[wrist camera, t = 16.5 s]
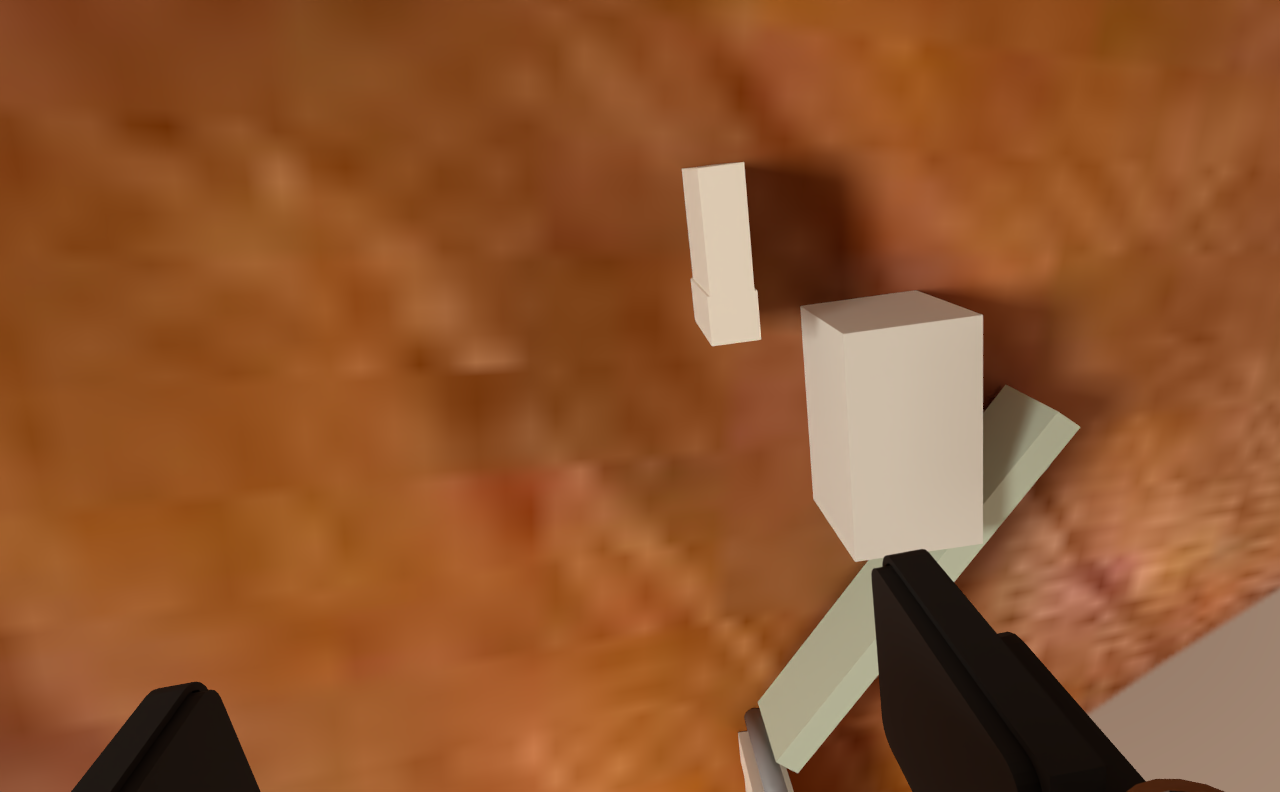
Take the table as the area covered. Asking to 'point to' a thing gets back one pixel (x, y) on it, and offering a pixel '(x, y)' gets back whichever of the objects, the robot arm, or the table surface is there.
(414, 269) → the table surface
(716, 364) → the table surface
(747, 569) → the table surface
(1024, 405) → the door
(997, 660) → the robot arm
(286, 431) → the table surface
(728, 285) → the notched cream block
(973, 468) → the block
